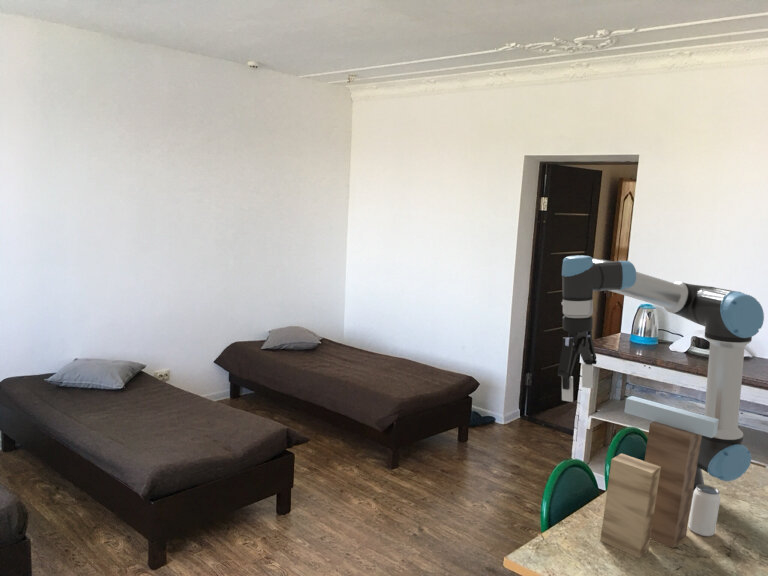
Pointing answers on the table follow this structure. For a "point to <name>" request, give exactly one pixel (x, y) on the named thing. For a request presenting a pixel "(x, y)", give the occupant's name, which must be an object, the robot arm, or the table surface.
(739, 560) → the table surface
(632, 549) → the oak step
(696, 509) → the can
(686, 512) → the walnut block
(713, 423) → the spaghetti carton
